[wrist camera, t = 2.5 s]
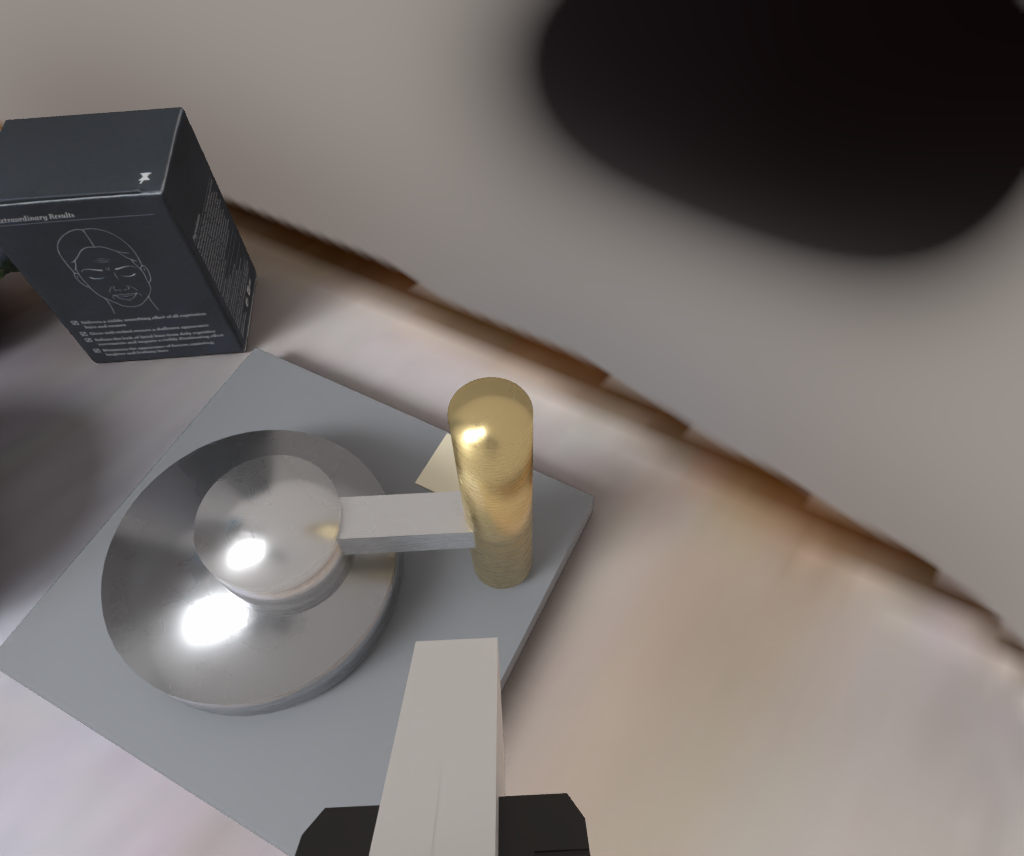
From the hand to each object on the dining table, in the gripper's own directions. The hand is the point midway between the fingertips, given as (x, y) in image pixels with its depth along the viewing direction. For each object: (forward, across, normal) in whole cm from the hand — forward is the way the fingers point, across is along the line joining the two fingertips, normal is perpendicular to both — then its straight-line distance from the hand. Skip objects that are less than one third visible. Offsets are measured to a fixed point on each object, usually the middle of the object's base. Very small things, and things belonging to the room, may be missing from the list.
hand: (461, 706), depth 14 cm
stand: (+18, -8, -5) cm, 20 cm away
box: (+29, -16, +5) cm, 33 cm away
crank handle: (+16, -6, -4) cm, 18 cm away
